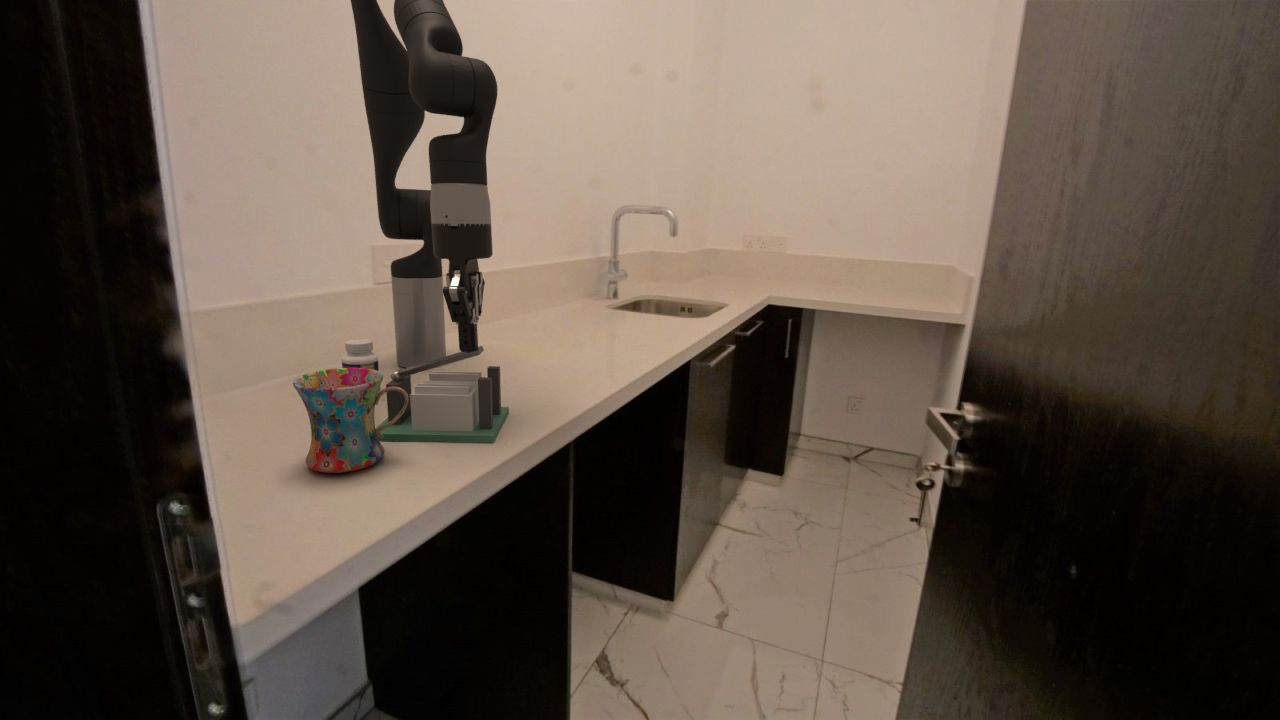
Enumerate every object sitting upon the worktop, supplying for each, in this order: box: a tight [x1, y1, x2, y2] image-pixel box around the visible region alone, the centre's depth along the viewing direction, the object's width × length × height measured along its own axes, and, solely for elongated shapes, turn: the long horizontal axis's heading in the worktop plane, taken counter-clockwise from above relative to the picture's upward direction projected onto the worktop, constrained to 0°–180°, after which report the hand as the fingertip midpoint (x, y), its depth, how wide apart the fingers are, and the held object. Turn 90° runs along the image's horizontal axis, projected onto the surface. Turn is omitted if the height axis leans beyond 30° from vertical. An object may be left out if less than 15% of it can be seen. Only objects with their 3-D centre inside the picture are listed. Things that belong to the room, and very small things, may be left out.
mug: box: [292, 367, 409, 474], centre depth 69 cm, size 12×9×11 cm
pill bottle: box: [341, 338, 381, 395], centre depth 95 cm, size 5×5×9 cm
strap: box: [390, 345, 485, 381], centre depth 81 cm, size 3×12×1 cm, turn 93°
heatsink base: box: [375, 365, 510, 444], centre depth 82 cm, size 12×16×8 cm
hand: (468, 350), depth 80 cm, fingers closed
